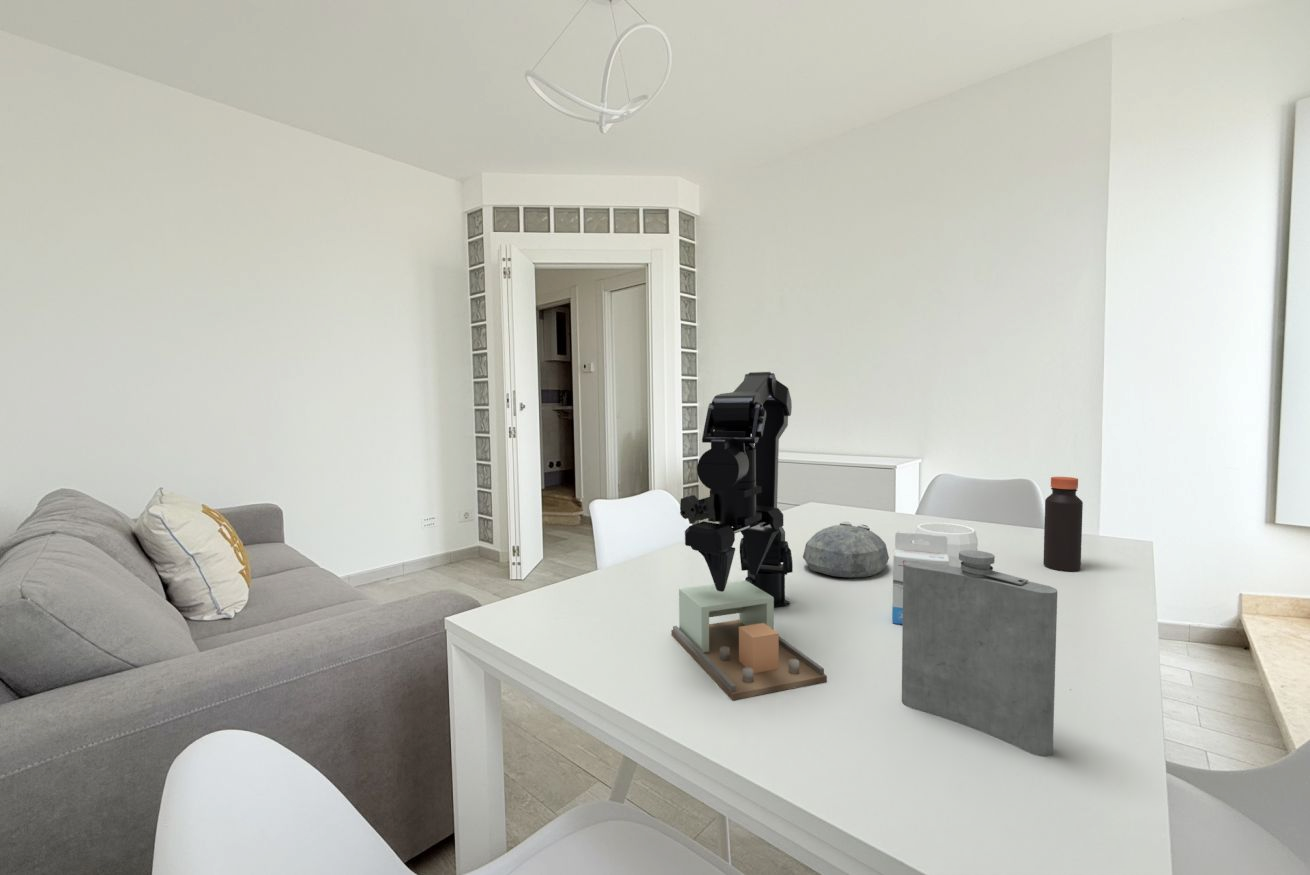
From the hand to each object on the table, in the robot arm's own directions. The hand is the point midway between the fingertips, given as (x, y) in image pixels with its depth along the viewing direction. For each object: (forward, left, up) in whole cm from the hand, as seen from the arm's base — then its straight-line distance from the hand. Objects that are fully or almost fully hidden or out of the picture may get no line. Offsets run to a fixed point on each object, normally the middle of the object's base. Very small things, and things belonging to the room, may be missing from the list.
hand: (737, 582), depth 86 cm
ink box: (-34, +1, -11) cm, 35 cm away
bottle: (-87, -13, -11) cm, 88 cm away
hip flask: (-17, +27, -11) cm, 33 cm away
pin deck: (0, +2, -11) cm, 11 cm away
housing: (0, -4, -11) cm, 11 cm away
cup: (-61, -20, -11) cm, 65 cm away
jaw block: (0, +7, -10) cm, 12 cm away
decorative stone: (-43, -30, -11) cm, 53 cm away
